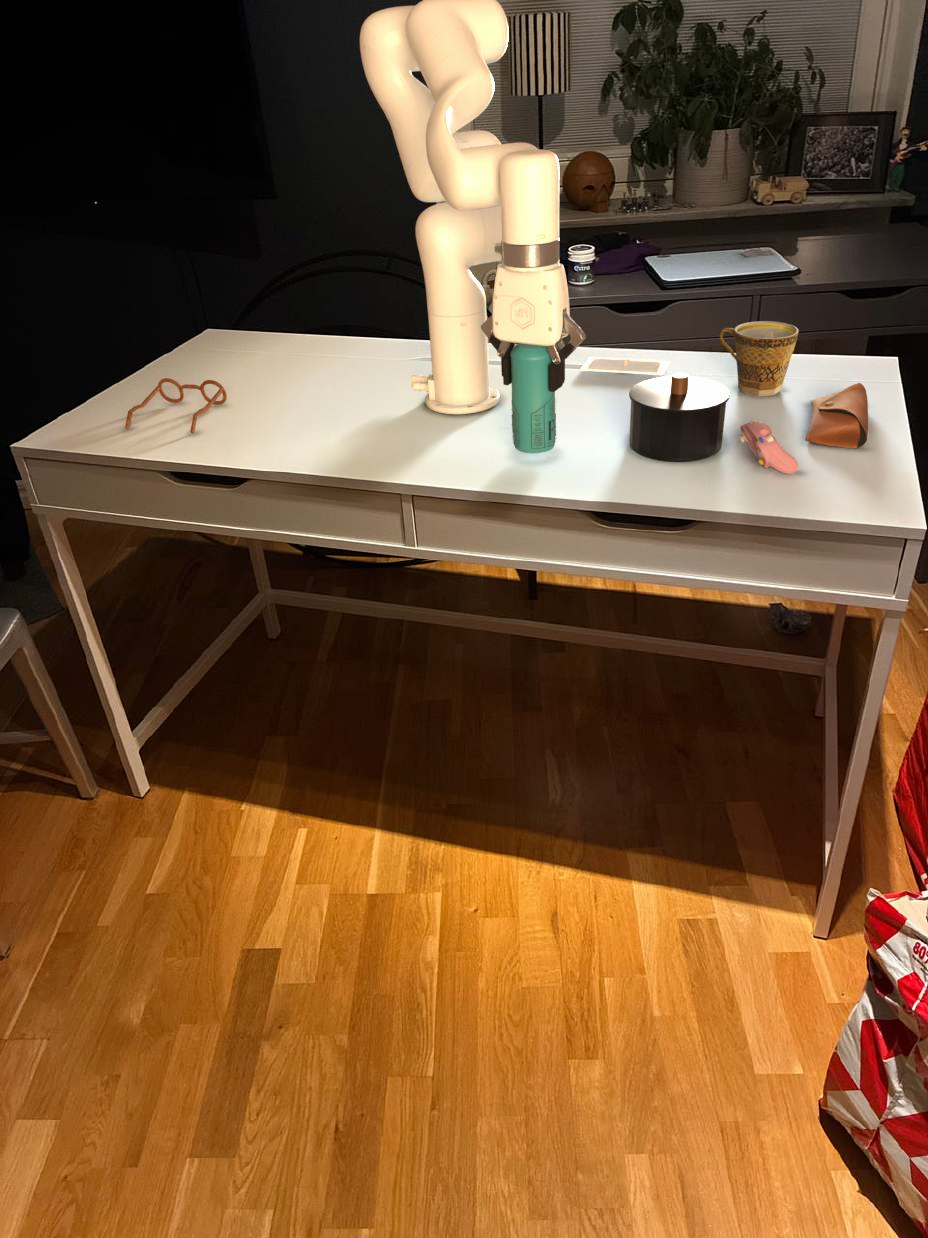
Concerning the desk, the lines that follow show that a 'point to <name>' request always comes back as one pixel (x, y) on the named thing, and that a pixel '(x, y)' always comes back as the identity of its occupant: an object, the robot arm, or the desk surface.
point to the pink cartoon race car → (767, 447)
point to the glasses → (201, 388)
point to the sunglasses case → (840, 419)
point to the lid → (679, 394)
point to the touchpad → (625, 365)
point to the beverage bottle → (532, 399)
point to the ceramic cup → (762, 355)
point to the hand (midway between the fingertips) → (533, 384)
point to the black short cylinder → (676, 434)
